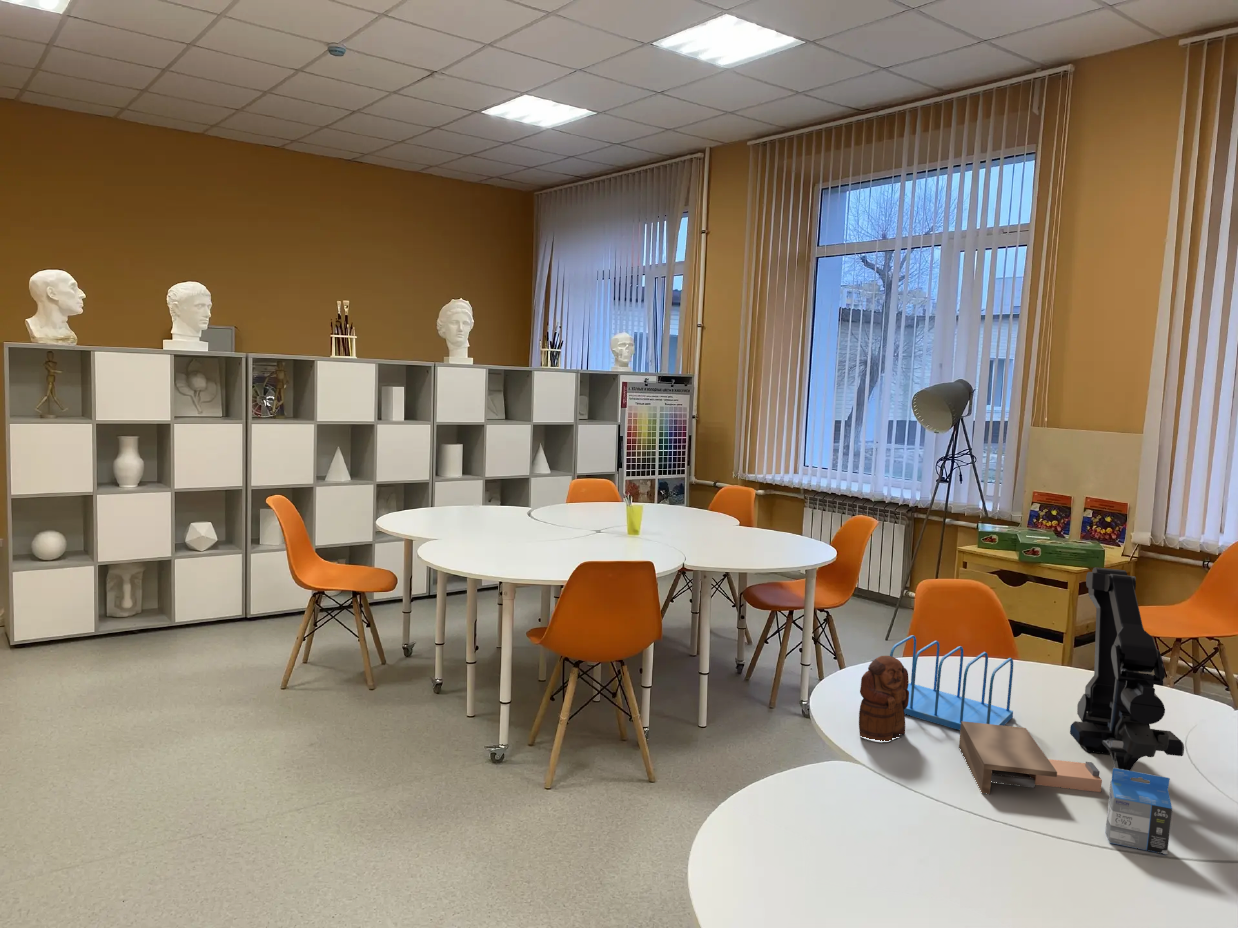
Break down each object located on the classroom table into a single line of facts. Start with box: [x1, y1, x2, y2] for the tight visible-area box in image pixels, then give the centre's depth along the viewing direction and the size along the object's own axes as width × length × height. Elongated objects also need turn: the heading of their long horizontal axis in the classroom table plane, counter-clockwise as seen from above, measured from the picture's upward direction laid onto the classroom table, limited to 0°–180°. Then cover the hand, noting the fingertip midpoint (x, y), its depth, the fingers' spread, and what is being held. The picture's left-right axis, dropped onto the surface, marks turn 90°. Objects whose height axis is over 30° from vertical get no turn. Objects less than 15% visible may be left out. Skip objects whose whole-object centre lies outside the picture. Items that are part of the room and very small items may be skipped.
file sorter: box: [889, 634, 1014, 731], centre depth 200 cm, size 25×17×15 cm
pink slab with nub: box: [1028, 758, 1103, 793], centre depth 169 cm, size 12×7×4 cm, turn 80°
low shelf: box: [958, 721, 1057, 795], centre depth 171 cm, size 13×20×6 cm, turn 170°
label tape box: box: [1105, 767, 1173, 855], centre depth 146 cm, size 9×4×12 cm, turn 68°
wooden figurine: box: [858, 655, 910, 741], centre depth 185 cm, size 12×6×18 cm, turn 125°
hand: (1121, 779), depth 167 cm, fingers closed
